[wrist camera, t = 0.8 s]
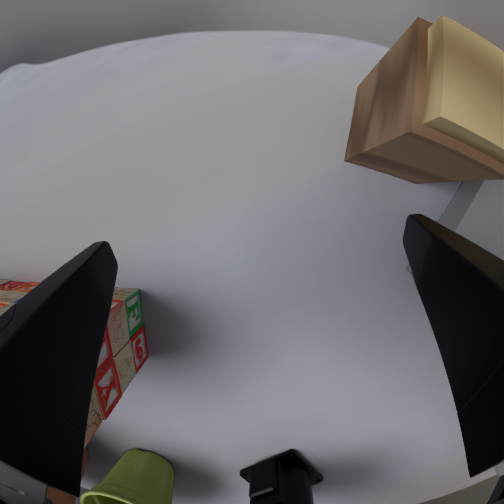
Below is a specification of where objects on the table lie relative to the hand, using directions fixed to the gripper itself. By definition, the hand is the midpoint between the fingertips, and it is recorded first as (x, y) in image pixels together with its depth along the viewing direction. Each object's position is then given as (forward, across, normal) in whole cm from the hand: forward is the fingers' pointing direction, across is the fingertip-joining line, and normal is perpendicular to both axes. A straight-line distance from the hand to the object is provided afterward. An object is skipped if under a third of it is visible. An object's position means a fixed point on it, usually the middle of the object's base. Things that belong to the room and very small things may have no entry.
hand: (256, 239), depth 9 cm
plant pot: (0, +14, +29) cm, 32 cm away
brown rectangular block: (+14, -10, +2) cm, 18 cm away
